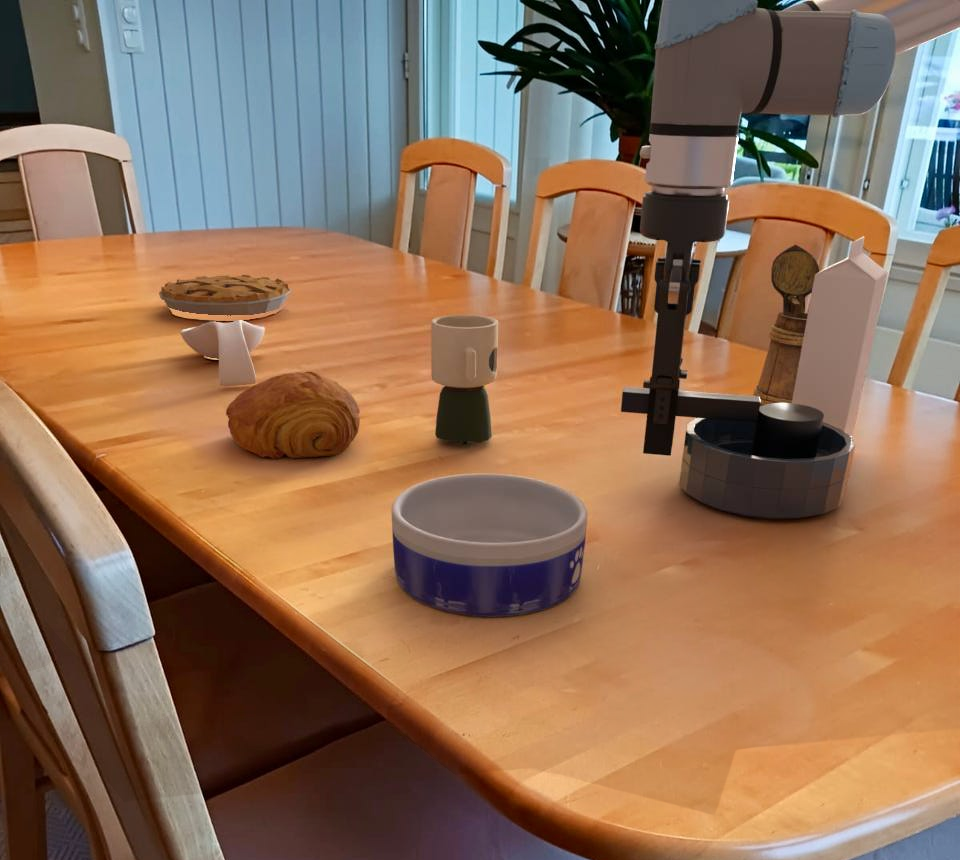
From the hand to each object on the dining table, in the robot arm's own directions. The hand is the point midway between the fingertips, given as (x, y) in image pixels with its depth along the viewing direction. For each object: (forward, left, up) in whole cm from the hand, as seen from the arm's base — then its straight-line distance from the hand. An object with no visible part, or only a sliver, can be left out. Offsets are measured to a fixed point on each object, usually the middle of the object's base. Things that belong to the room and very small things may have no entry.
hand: (657, 448), depth 97 cm
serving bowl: (-10, +1, -3) cm, 11 cm away
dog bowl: (+12, +26, -4) cm, 29 cm away
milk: (-17, -14, -4) cm, 22 cm away
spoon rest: (+61, -30, -4) cm, 68 cm away
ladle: (-6, 0, 0) cm, 6 cm away
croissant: (+40, -2, -4) cm, 40 cm away
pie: (+78, -65, -4) cm, 102 cm away
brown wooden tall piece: (-14, -34, -4) cm, 37 cm away
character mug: (+22, -7, -4) cm, 23 cm away
